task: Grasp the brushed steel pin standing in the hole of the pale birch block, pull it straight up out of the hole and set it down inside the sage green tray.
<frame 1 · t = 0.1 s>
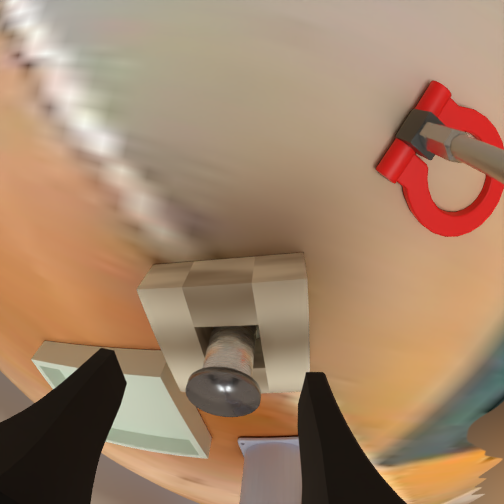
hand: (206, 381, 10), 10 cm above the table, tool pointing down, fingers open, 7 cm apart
tray: (127, 396, 28), on the table
pin block: (236, 319, 22), on the table
steel pin: (230, 354, 19), in the pin block
tow hook: (450, 166, 16), on the table
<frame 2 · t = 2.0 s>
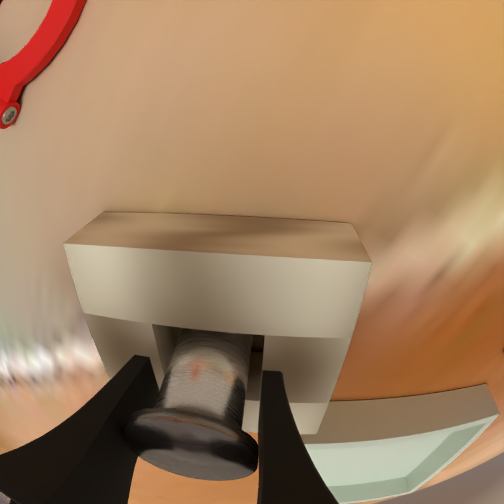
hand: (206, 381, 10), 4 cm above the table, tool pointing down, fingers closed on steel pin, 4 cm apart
tray: (364, 449, 20), on the table
pin block: (221, 319, 14), on the table
steel pin: (207, 377, 11), in the pin block, touching gripper
tow hook: (22, 21, 8), on the table
when the fingers open (6 cm above the table, at t = 6.5 s): steel pin drops 1 cm, resting on tray.
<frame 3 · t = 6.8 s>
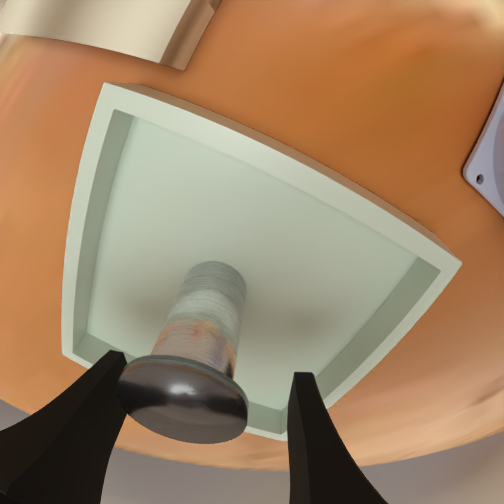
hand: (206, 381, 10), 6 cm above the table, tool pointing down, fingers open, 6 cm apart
tray: (228, 291, 16), on the table
steel pin: (199, 339, 11), in the tray, point 4 cm above the table
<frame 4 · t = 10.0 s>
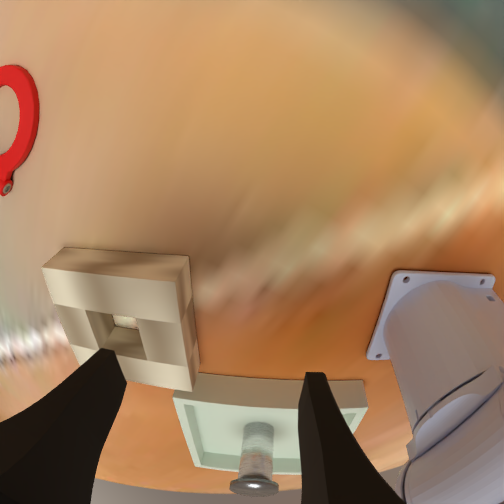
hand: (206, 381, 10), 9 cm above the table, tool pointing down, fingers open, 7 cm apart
tray: (266, 424, 27), on the table
pin block: (131, 310, 21), on the table
steel pin: (256, 458, 23), in the tray, point 4 cm above the table
tow hook: (5, 123, 15), on the table
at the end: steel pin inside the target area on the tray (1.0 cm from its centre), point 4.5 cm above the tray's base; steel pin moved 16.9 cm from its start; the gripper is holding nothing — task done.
